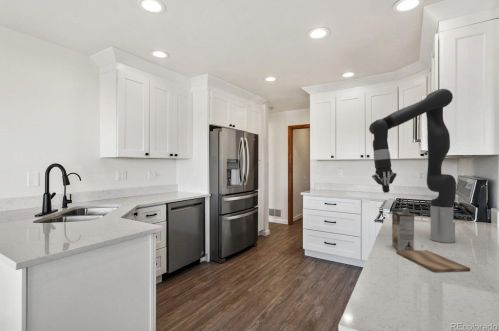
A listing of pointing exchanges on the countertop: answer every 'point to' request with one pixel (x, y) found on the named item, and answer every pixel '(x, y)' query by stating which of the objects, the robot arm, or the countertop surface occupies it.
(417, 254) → the cutting board
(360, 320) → the countertop surface
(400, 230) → the coffee box
